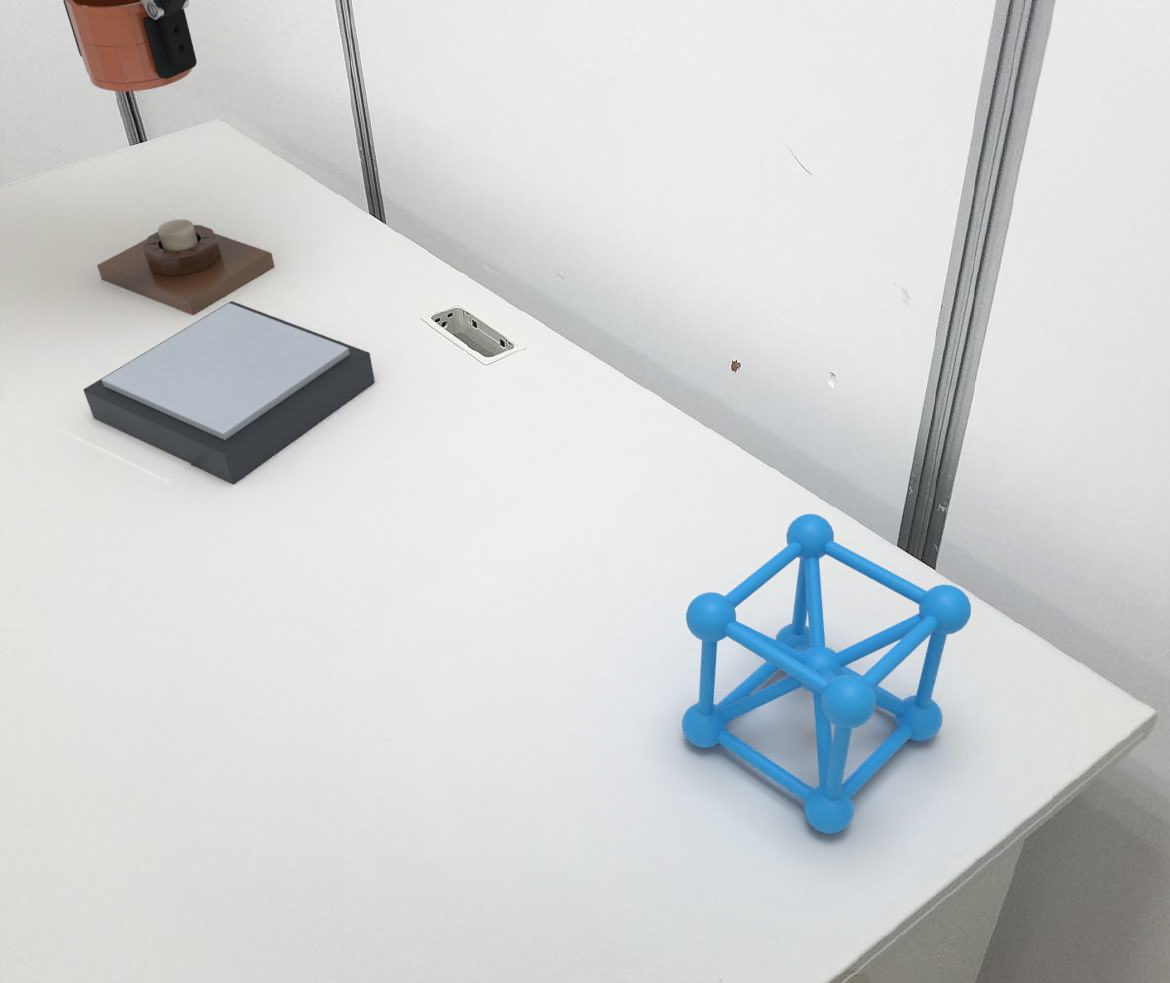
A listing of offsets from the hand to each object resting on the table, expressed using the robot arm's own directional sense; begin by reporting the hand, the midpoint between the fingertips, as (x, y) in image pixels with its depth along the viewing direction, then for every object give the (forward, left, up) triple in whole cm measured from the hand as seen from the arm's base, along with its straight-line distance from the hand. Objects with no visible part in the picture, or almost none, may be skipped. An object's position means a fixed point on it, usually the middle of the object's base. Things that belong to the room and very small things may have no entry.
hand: (138, 60), depth 86 cm
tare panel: (-2, +1, -18) cm, 18 cm away
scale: (+15, -10, -18) cm, 25 cm away
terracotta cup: (0, 0, -1) cm, 1 cm away
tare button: (-2, +1, -15) cm, 16 cm away
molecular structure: (+63, -16, -18) cm, 67 cm away
